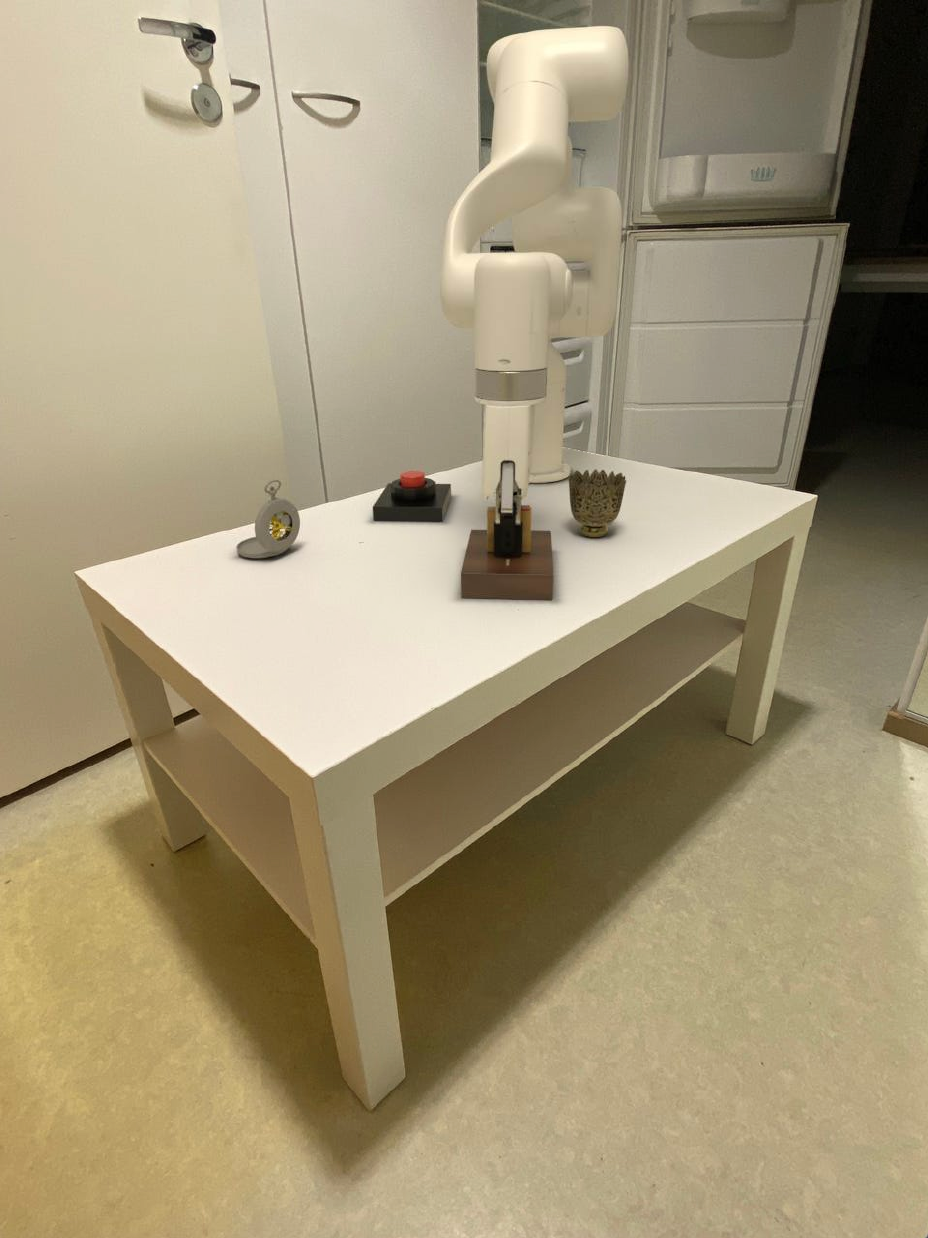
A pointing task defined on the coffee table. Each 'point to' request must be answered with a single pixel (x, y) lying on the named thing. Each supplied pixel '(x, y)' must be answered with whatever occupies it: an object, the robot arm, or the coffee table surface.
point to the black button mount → (412, 502)
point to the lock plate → (508, 570)
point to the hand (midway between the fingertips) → (508, 549)
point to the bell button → (412, 479)
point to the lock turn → (525, 518)
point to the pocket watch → (280, 517)
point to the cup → (595, 500)
